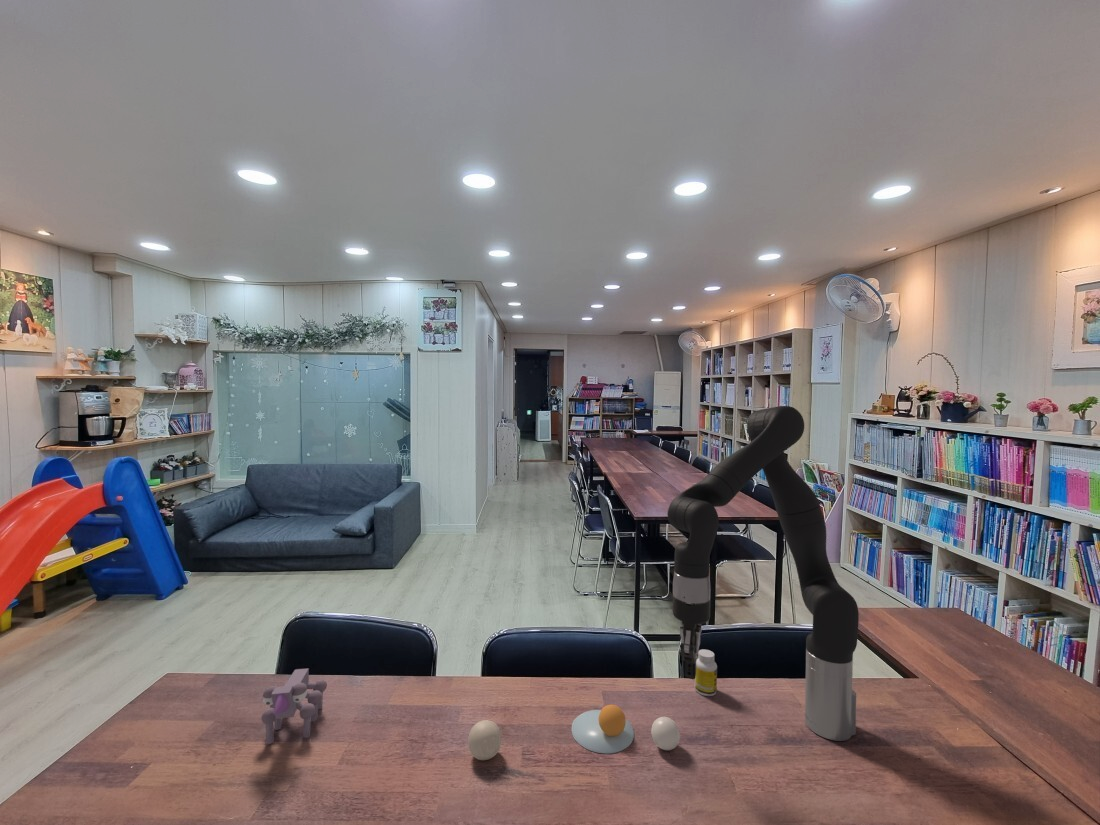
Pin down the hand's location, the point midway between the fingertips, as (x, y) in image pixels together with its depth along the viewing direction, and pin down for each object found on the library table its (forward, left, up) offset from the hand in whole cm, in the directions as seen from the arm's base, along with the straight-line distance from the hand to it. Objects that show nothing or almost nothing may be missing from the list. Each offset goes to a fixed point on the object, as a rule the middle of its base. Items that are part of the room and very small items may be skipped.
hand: (690, 676), depth 98 cm
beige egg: (+42, -4, -17) cm, 46 cm away
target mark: (+16, -10, -17) cm, 25 cm away
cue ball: (+4, -3, -14) cm, 15 cm away
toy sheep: (+85, -14, -17) cm, 88 cm away
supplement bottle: (-14, -22, -17) cm, 31 cm away
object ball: (+14, -8, -14) cm, 22 cm away
